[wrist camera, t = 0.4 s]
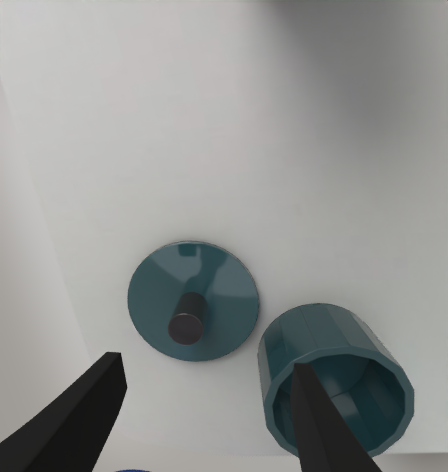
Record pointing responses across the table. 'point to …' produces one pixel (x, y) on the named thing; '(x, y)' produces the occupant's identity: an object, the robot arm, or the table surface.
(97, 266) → the table surface
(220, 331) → the tin lid
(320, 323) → the tin
